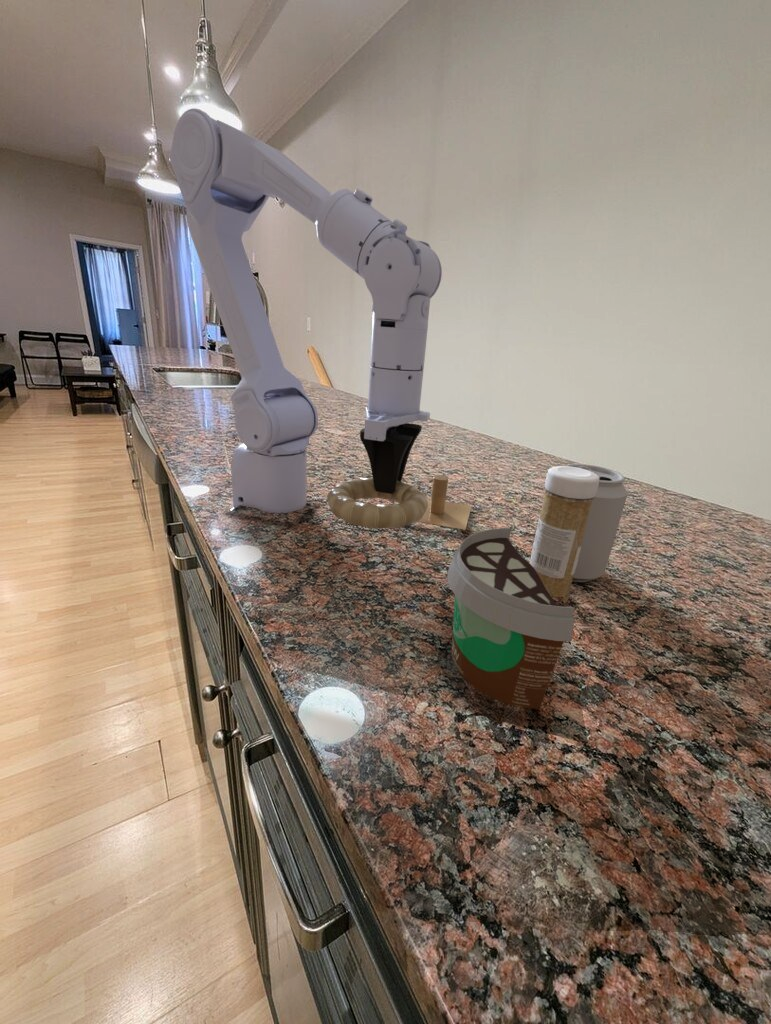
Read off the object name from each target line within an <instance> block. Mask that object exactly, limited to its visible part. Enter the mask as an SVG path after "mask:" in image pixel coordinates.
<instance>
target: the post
mask: <svg viewBox="0 0 771 1024" xmlns="http://www.w3.org/2000/svg"><path fill="white" fill-rule="evenodd" d="M448 485H449V478H448V477H447V476H446V475H445V476H444V475H435V476H433V480H432V489H431V497H430V498H426V499H427V501H428V507H427V509H426V511H425V513H424V515H423V517H422V518H421V519H420V520H419V521H417V522H416V523H422V524H429V525H434V526H440V527H446V528H452V529H458V530H463V531H466V530H467V527H468V522H469V519H470V515H471V512H472V509H473V508H472V507H473V506H472V505H469V504H463V503H457V502H450V501H446V500H447V492H448Z"/></svg>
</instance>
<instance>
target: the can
mask: <svg viewBox="0 0 771 1024" xmlns="http://www.w3.org/2000/svg"><path fill="white" fill-rule="evenodd" d="M564 466H569V467H576V468H581V469H585V470H588V471H591V472H593V473H595V474H597V475H598V476H599V485H598V489H597V493H596V496H595V497H594V499H593V501H592V502H591V506H590V511H589V516H588V520H587V524H586V527H585V531H584V535H583V539H582V543H581V550H580V554H579V559H578V562H577V566H576V570H575V573H574V575H573V578H572V582H573V583H587V582H591V581H593V580H595V579H599V578H601V577H603V575H604V574H605V572H606V569H607V567H608V562H609V559H610V555H611V553H612V550H613V545H614V543H615V539H616V536H617V532H618V529H619V525H620V522H621V519H622V515H623V512H624V508H625V504H626V502H627V499H628V495H629V492H628V490H627V489H626V487H625V485H624V484H623V483H624V482H625V481H626V477H625V476H624V475H623V474H622V473H620V472H618V471H615V470H613V469H610V468H607V467H603V466H598V465H594V464H584V463H570V464H565V465H564Z"/></svg>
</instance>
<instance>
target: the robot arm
mask: <svg viewBox="0 0 771 1024" xmlns="http://www.w3.org/2000/svg"><path fill="white" fill-rule="evenodd" d="M168 157H169V158H168V159H169V163H170V165H171V167H172V170H173V173H174V176H175V179H176V182H177V184H178V187H179V191H180V193H181V196H182V199H183V201H184V205H185V209H186V216H187V223H188V230H189V233H190V236H191V239H192V242H193V245H194V248H195V251H196V253H197V256H198V260H199V262H200V266H201V268H202V270H203V273H204V276H205V279H206V282H207V285H208V288H209V290H210V293H211V297H212V299H213V301H214V305H215V307H216V310H217V313H218V316H219V318H220V321H221V324H222V327H223V330H224V333H225V336H226V338H227V341H228V344H229V346H230V347H229V348H230V349H231V352H232V355H233V358H234V361H235V364H236V366H237V370H238V373H239V375H240V378H241V379H240V381H239V382H238V384H237V386H236V387H235V389H234V391H232V394H231V395H230V400H231V403H232V406H233V410H234V425H235V426H234V427H235V429H236V433H237V435H238V436H237V437H238V438H239V440H240V441H241V442H242V443H241V444H240V445H239V446H238V447H236V449H235V450H234V451H233V452H234V453H233V455H232V458H231V462H230V475H231V489H232V504H233V507H232V508H230V511H233V510H234V509H237V508H238V507H239V506H243V507H249V508H254V509H256V510H259V511H262V512H266V513H271V514H272V513H273V514H284V513H285V514H286V513H293V512H296V511H299V510H302V509H304V508H305V507H306V506H307V504H308V502H307V500H308V497H307V496H308V493H307V492H308V491H307V489H308V487H307V486H308V484H307V483H308V482H307V481H308V476H307V474H308V473H307V471H308V470H307V469H308V468H307V464H308V463H307V462H308V461H307V459H308V458H307V455H308V454H307V452H308V451H307V448H308V446H310V438H311V437H312V436H313V435H314V434H315V432H316V431H317V428H318V426H319V425H318V424H319V414H318V411H317V408H316V405H315V403H314V402H313V400H311V398H310V397H309V396H308V395H307V393H306V391H305V389H304V386H303V383H302V381H301V380H300V379H299V378H297V377H296V376H295V374H293V373H292V372H290V371H289V370H288V369H287V368H286V367H285V365H284V362H283V360H282V356H281V353H280V350H279V348H278V345H277V344H278V343H277V342H276V338H275V336H274V333H273V330H272V327H271V323H270V321H269V318H268V315H267V312H266V308H265V305H264V303H263V300H262V296H261V294H260V291H259V288H258V285H257V282H256V279H255V276H254V273H253V270H252V267H251V264H250V261H249V259H248V255H247V252H246V250H245V249H246V248H245V246H244V243H243V241H242V238H243V235H244V234H245V233H246V232H248V231H250V229H251V228H252V226H253V224H254V223H255V221H256V219H257V217H258V216H259V214H261V211H262V210H263V208H264V207H265V205H266V203H267V201H268V200H269V198H272V199H276V198H278V199H279V200H281V201H282V202H283V203H285V204H286V205H288V206H289V207H290V208H292V209H293V210H295V211H296V212H298V213H299V214H300V215H302V216H303V217H305V218H306V219H308V220H309V221H310V222H311V223H312V224H315V228H316V236H317V240H318V242H319V244H320V245H321V246H322V247H323V248H324V249H325V250H326V251H328V252H329V253H330V254H332V255H333V256H334V257H336V258H337V259H338V260H339V261H340V262H341V263H343V265H344V264H345V266H347V267H348V268H349V269H351V270H352V271H353V272H355V273H356V275H358V276H359V277H361V278H362V279H363V280H364V283H365V286H366V289H367V290H368V292H369V293H370V296H371V300H372V303H371V312H372V325H371V327H372V328H371V343H370V345H371V346H370V347H371V348H370V361H369V363H370V364H369V365H370V366H369V379H368V381H369V382H368V383H369V384H368V399H367V406H366V407H365V417H366V418H365V419H364V428H362V429H360V430H359V439H360V441H361V443H362V445H363V447H364V449H365V452H366V454H367V457H368V461H369V464H370V469H371V475H372V478H373V482H374V487H375V491H377V492H383V493H389V494H392V493H393V492H394V490H395V487H396V484H397V481H401V482H402V481H403V477H404V473H405V469H406V466H407V463H408V460H409V456H410V453H411V451H412V448H413V447H414V443H415V442H416V440H417V438H418V436H419V435H420V433H421V431H422V428H423V426H422V425H420V424H417V423H414V422H418V421H421V422H427V421H428V420H430V418H431V412H429V411H423V410H420V409H421V400H422V399H421V398H422V389H423V379H424V368H425V362H426V361H425V360H426V359H425V358H426V348H427V340H428V339H427V338H428V330H429V316H430V307H431V299H432V298H433V297H434V296H435V294H436V293H437V291H438V290H439V288H440V284H441V282H442V277H443V276H442V275H443V274H442V273H443V271H442V270H443V269H442V263H441V261H440V258H439V257H438V254H437V253H436V252H435V250H433V249H432V247H431V246H430V244H429V243H428V242H426V241H423V240H417V239H414V238H412V237H411V236H408V235H407V233H406V232H407V230H408V226H407V225H406V224H405V223H404V222H403V221H401V220H399V219H397V218H395V219H394V220H393V221H392V220H391V219H390V218H388V217H387V216H385V215H384V214H383V213H381V212H380V211H379V210H378V209H376V208H375V207H374V206H372V202H373V197H371V196H370V195H369V194H368V193H367V192H365V191H364V190H361V189H359V188H356V189H355V191H352V190H351V189H348V188H343V189H342V188H341V189H338V190H335V191H334V192H332V193H331V191H329V190H328V189H327V188H325V186H323V185H322V184H321V183H320V182H319V181H317V180H316V179H315V178H314V177H312V176H311V175H310V174H308V173H307V172H306V171H305V170H304V169H303V168H301V167H300V166H299V165H298V164H297V163H296V162H295V161H293V160H292V159H290V157H288V156H287V155H286V154H285V153H283V152H282V151H281V150H279V149H277V148H275V147H273V146H271V145H269V144H267V143H266V142H265V141H262V140H261V139H259V138H256V137H254V136H252V135H250V134H248V133H246V132H244V131H242V130H240V129H238V128H236V127H234V126H232V125H229V123H226V122H224V121H221V120H219V119H214V118H212V117H211V116H210V115H209V114H208V113H207V112H206V111H204V110H202V109H200V108H196V107H195V108H189V109H187V110H185V111H184V112H183V113H182V114H181V115H180V117H179V119H178V121H177V122H176V125H175V128H174V132H173V138H172V142H171V147H170V152H169V156H168Z"/></svg>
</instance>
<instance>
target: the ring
mask: <svg viewBox="0 0 771 1024" xmlns="http://www.w3.org/2000/svg"><path fill="white" fill-rule="evenodd" d="M326 497H327V499H326V500H327V504H328V507H329V509H330V511H331V513H332V515H334V516H335V517H337V518H338V519H340V520H342V521H344V522H346V523H347V524H350V525H354V526H358V527H364V528H370V529H375V530H376V529H377V530H378V529H399V528H404V527H407V526H410V525H412V524H415V523H418V522H417V521H419V520H420V519H421V518H422V517H423V515H424V513H425V511H426V509H427V507H428V501H427V499H428V498H427V497H426V496H425V495H424V493H422V492H421V490H419V488H417V487H416V486H413V485H411V484H408V483H406V482H403V481H402V480H401V481H397V484H396V487H395V490H394V492H393V493H392V494H389V493H383V492H377V491H375V487H374V482H373V477H359V478H358V477H357V478H354V479H350V480H345V481H341V482H339V483H338V484H336V485H335V487H333V488H332V489H330V491H329V492H328V494H327V496H326ZM361 499H363V500H364V499H381V500H387V501H393V502H395V504H393V503H392V504H374V503H369V502H363V501H358V500H361Z"/></svg>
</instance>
